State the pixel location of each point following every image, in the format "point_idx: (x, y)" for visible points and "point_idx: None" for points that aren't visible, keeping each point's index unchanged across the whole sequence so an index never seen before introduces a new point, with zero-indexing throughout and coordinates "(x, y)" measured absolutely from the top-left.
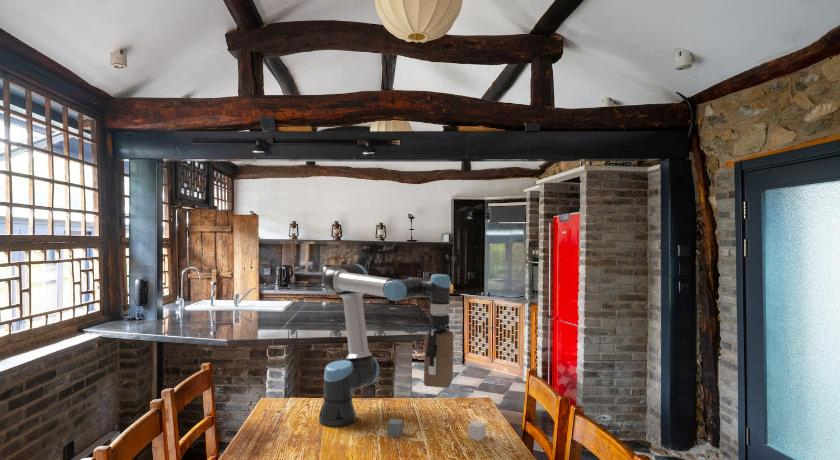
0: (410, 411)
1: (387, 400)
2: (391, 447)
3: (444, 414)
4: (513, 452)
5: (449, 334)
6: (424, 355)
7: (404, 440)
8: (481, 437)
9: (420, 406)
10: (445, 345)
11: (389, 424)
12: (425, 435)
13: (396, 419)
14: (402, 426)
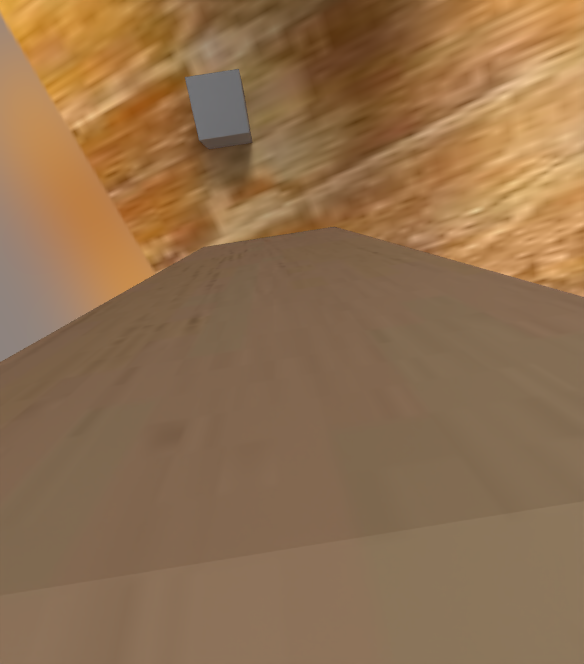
0: (452, 89)
1: None
2: (124, 154)
3: (446, 230)
4: None
5: None
6: (123, 292)
7: (194, 176)
8: None
9: (512, 112)
10: None
11: (188, 90)
12: (260, 228)
13: (240, 101)
14: (244, 138)
